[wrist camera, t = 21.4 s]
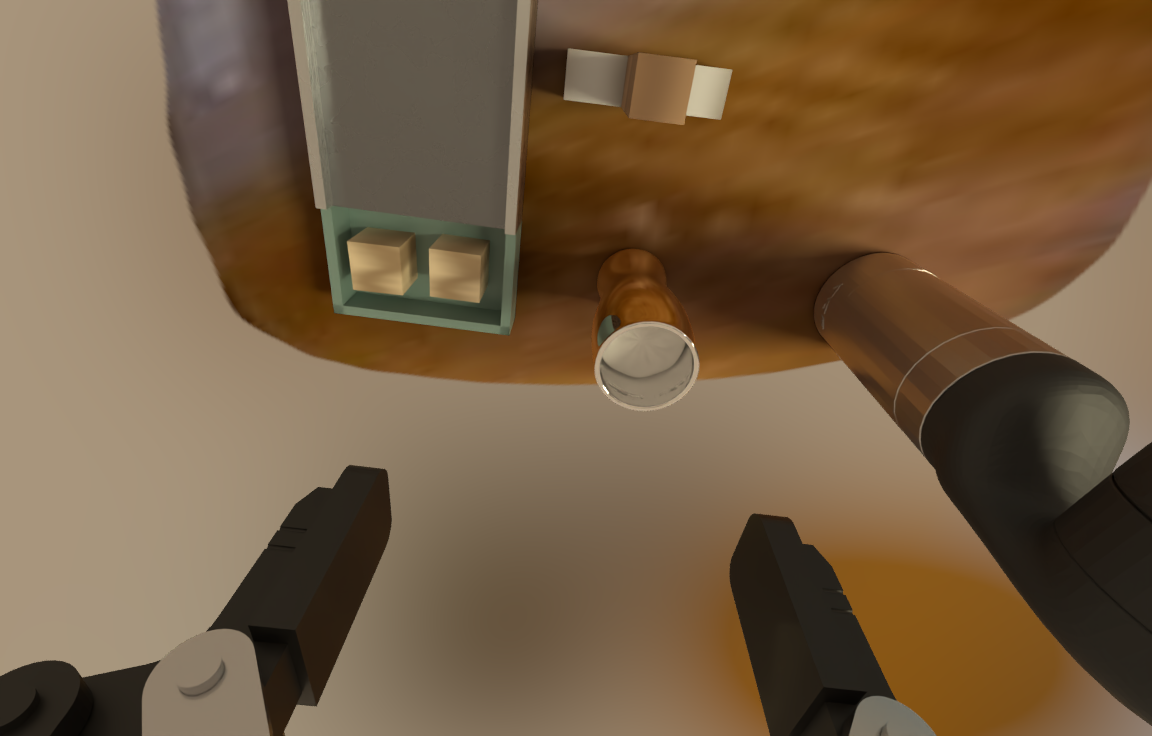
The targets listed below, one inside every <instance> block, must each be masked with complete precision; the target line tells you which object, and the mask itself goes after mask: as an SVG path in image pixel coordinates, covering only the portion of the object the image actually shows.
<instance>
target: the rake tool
mask: <svg viewBox="0 0 1152 736" xmlns="http://www.w3.org/2000/svg"><path fill="white" fill-rule="evenodd" d="M696 63H697V60H692V59H685V58H677V57H670V56H662V55H654V54H647V53H639V52H638V53H636V54H633V55H630V56H623V55H616V54H608V53H600V52H593V51H585V50H578V49H570V48H568V54H567V66H566V77H565V89H564V100H571V101H578V102H586V103H594V104H602V105H610V106H617V107H621V108H622V109H623V110H624V112H625V113H626V115H627V116H628V118H632V119H640V120H648V121H656V122H664V123H672V124H679V125H684V122H685V117H686V115H688V116H696V117H703V118H711V119H719V120H721V117H722V112H723V108H724V104H725V100H726V95H727V91H728V87H729V83H730V78H731V74H732V70H730V69H722V68H715V67H707V66H700V65H696Z"/></svg>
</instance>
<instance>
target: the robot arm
mask: <svg viewBox="0 0 1152 736" xmlns="http://www.w3.org/2000/svg"><path fill="white" fill-rule="evenodd" d="M814 320H815V325H816V327H817V329H818V331H819V333H820V334H821V336H822V337H823V338H824V339H825V340H826V342H827V343H828V344H829V345H830V346H831V347H832V349H833V350H834V351H835V352H836V353H837V355H838V356H839V357H840V358H841V360H842V361H843V362H844V363H845V364H846V365H847V367H848V368H849V369H850V370H851V371H852V373H853V374H854V375H855V376H856V377H857V378H858V380H859V381H860V382H861V383H862V384H863V386H864V387H865V388H866V389H867V390H868V391H869V393H870V394H871V395H872V396H873V397H874V398H875V400H876V401H877V402H878V403H879V404H880V405H881V407H882V408H883V409H884V410H885V411H886V413H887V414H889V416H890V417H891V418H892V420H893V421H894V422H895V423H896V424H897V426H898V427H899V428H900V429H901V430H902V431H903V432H904V433H905V434H906V435H907V437H908V438H909V439H910V440H911V442H912V443H913V444H914V445H915V446H916V448H917V449H918V450H919V451H920V452H921V453H922V454H923V456H924V457H925V458H926V459H927V460H928V462H929V463H930V464H931V465H932V466H933V467H934V469H935V470H936V474H937V477H938V480H939V482H940V484H941V486H942V488H943V490H944V491H945V493H946V494H947V496H948V497H949V498H950V500H951V501H952V502H953V504H954V505H955V506H956V507H957V509H958V510H959V511H960V513H961V514H962V515H963V516H964V518H965V519H966V520H967V522H968V523H969V524H970V526H971V527H972V529H973V530H974V531H975V533H976V534H977V535H978V537H979V538H980V539H981V541H982V542H983V543H984V545H985V546H986V548H987V549H988V550H989V552H990V553H991V555H992V556H993V557H994V559H995V560H996V562H997V563H998V564H999V566H1000V567H1001V569H1002V570H1003V571H1004V573H1005V574H1006V575H1007V577H1008V578H1009V580H1010V581H1011V582H1012V584H1013V585H1014V587H1015V588H1016V589H1017V591H1018V592H1019V593H1020V595H1021V596H1022V597H1023V599H1024V600H1025V601H1026V602H1027V604H1028V605H1029V606H1030V608H1031V609H1032V610H1033V612H1034V613H1035V614H1036V615H1037V617H1038V618H1039V619H1040V621H1041V622H1042V623H1043V624H1044V625H1045V627H1046V628H1047V629H1048V630H1049V631H1050V632H1051V634H1052V635H1053V636H1054V637H1055V638H1056V639H1057V640H1058V641H1059V643H1060V644H1061V645H1062V646H1063V647H1064V648H1065V650H1066V651H1067V652H1068V653H1069V654H1070V655H1071V656H1072V657H1073V658H1074V659H1075V660H1076V662H1077V663H1078V664H1079V665H1080V666H1081V667H1082V668H1083V669H1084V670H1085V671H1087V672H1088V673H1089V674H1090V675H1091V676H1092V677H1093V678H1094V679H1095V680H1096V681H1097V682H1098V683H1100V684H1101V685H1102V686H1103V687H1104V688H1105V689H1106V690H1107V691H1108V692H1109V693H1110V694H1111V695H1112V696H1113V697H1115V698H1116V699H1117V700H1118V701H1119V702H1121V703H1122V704H1123V705H1124V706H1125V707H1127V708H1128V709H1129V710H1131V711H1132V712H1133V713H1135V714H1136V715H1137V716H1139V717H1140V718H1142V719H1143V720H1144V721H1146V722H1147V723H1149V724H1150V725H1151V726H1152V442H1151V443H1150V444H1148V445H1147V446H1146V447H1144V448H1143V449H1142V450H1140V451H1139V452H1138V453H1136V454H1135V455H1134V456H1132V457H1131V458H1130V459H1129V460H1127V461H1126V462H1125V463H1124V464H1122V465H1121V466H1120V467H1118V468H1117V469H1116V470H1115V471H1114V472H1113V473H1112V471H1113V469H1114V467H1115V465H1116V463H1117V461H1118V459H1119V456H1120V454H1121V452H1122V450H1123V447H1124V445H1125V442H1126V439H1127V436H1128V431H1129V423H1130V421H1129V411H1128V408H1127V405H1126V402H1125V400H1124V398H1123V397H1122V395H1121V394H1120V393H1119V392H1118V390H1117V389H1116V388H1115V387H1114V386H1113V385H1112V384H1111V383H1109V382H1108V381H1107V380H1105V379H1104V378H1103V377H1101V376H1100V375H1098V374H1097V373H1095V372H1093V371H1091V370H1090V369H1088V368H1087V367H1085V366H1083V365H1082V364H1080V363H1079V362H1077V361H1075V360H1073V359H1071V358H1070V357H1068V356H1066V355H1065V354H1063V353H1061V352H1060V351H1058V350H1057V349H1055V348H1053V347H1052V346H1050V345H1048V344H1047V343H1045V342H1043V341H1042V340H1040V339H1038V338H1037V337H1035V336H1033V335H1031V334H1030V333H1028V332H1026V331H1025V330H1023V329H1022V328H1020V327H1018V326H1017V325H1015V324H1013V323H1012V322H1010V321H1008V320H1007V319H1005V318H1004V317H1002V316H1000V315H999V314H997V313H995V312H994V311H992V310H990V309H989V308H987V307H985V306H984V305H982V304H981V303H979V302H977V301H976V300H974V299H972V298H971V297H969V296H967V295H966V294H964V293H962V292H961V291H959V290H958V289H956V288H954V287H953V286H951V285H949V284H948V283H946V282H944V281H943V280H941V279H940V278H938V277H936V276H935V275H933V274H932V273H930V272H929V271H927V270H925V269H924V268H922V267H920V266H919V265H917V264H915V263H914V262H912V261H910V260H909V259H907V258H905V257H902V256H900V255H897V254H891V253H874V254H870V255H866V256H862V257H859V258H857V259H855V260H853V261H850V262H849V263H847V264H846V265H844V266H842V267H841V268H839V269H838V270H837V271H836V272H835V273H834V274H833V275H832V276H831V277H830V278H829V279H828V280H827V281H826V283H825V284H824V285H823V287H822V288H821V290H820V292H819V294H818V296H817V299H816V302H815V306H814ZM391 522H392V518H391V505H390V494H389V482H388V474H387V471H386V470H385V469H379V468H371V467H362V466H353V465H349V466H348V467H346V469H345V470H344V471H343V473H342V474H341V476H340V478H339V479H338V481H337V482H336V484H335V486H334V487H333V489H331V488H321V487H318V488H316V489H315V490H314V491H312V492H311V493H310V494H309V495H307V496H306V497H304V498H303V499H302V500H300V501H299V502H298V503H297V504H295V506H294V507H293V509H292V510H291V512H290V513H289V514H288V516H287V517H286V519H285V520H284V522H283V523H282V525H281V527H280V530H279V531H277V532H276V533H275V535H274V536H273V538H272V539H271V541H270V542H269V544H268V548H267V549H264V551H263V552H262V554H261V556H260V557H259V558H258V560H257V561H256V563H255V564H254V566H253V567H252V568H251V570H250V571H249V573H248V574H247V576H246V577H245V579H244V580H243V582H242V583H241V585H240V586H239V587H238V589H237V590H236V592H235V593H234V595H233V596H232V598H231V599H230V600H229V602H228V604H227V605H226V606H225V608H224V609H223V611H222V612H221V614H220V615H219V617H218V618H217V619H216V621H215V622H214V623H213V625H212V626H211V627H210V628H209V629H208V630H207V631H206V632H204V633H201V634H199V635H196V636H194V637H192V638H190V639H188V640H186V641H185V642H183V643H181V644H180V645H178V646H177V647H175V648H174V649H173V650H171V651H170V652H169V653H168V654H167V655H166V656H165V657H164V658H163V659H162V660H159V661H157V662H153V663H150V664H146V665H142V666H137V667H132V668H127V669H123V670H117V671H113V672H108V673H103V674H98V675H93V676H89V677H84V678H82V677H81V675H80V674H79V673H78V671H77V670H76V668H74V667H73V666H72V665H71V664H68V663H66V662H63V661H42V662H36V663H32V664H29V665H26V666H22V667H20V668H17V669H15V670H13V671H10V672H8V673H6V674H4V675H2V676H0V736H285V733H284V730H285V728H286V726H287V724H288V722H289V720H290V717H291V715H292V713H293V711H294V709H295V707H296V705H307V706H317V704H318V702H319V700H320V697H321V695H322V693H323V690H324V688H325V686H326V683H327V681H328V679H329V677H330V674H331V672H332V670H333V667H334V665H335V663H336V660H337V658H338V656H339V654H340V651H341V649H342V646H343V644H344V642H345V640H346V637H347V635H348V633H349V630H350V628H351V625H352V624H353V621H354V619H355V617H356V614H357V612H358V610H359V607H360V605H361V603H362V601H363V598H364V596H365V594H366V591H367V589H368V587H369V585H370V582H371V580H372V578H373V575H374V573H375V571H376V569H377V566H378V564H379V561H380V559H381V557H382V555H383V552H384V550H385V548H386V545H387V542H388V539H389V535H390V530H391ZM730 584H731V588H732V593H733V596H734V600H735V604H736V608H737V611H738V615H739V619H740V623H741V627H742V630H743V634H744V638H745V641H746V645H747V649H748V653H749V656H750V660H751V664H752V668H753V672H754V676H755V679H756V683H757V687H758V691H759V695H760V699H761V702H762V706H763V709H764V713H765V717H766V721H767V725H768V729H769V733H770V736H936V735H935V733H934V732H933V731H932V729H931V728H930V727H929V726H928V725H927V724H926V722H925V721H924V720H923V719H922V718H920V717H919V716H918V715H917V714H916V713H915V712H913V711H912V710H911V709H910V708H908V707H907V706H904V705H903V704H901V703H900V702H898V701H897V700H896V699H895V697H894V695H893V693H892V691H891V689H890V687H889V685H888V683H887V681H886V679H885V677H884V675H883V673H882V671H881V668H880V667H879V664H878V662H877V660H876V658H875V656H874V654H873V652H872V650H871V648H870V645H869V643H868V641H867V639H866V637H865V635H864V633H863V631H862V629H861V627H860V625H859V622H858V620H857V618H856V616H855V615H853V614H852V608H851V606H850V604H849V601H848V600H847V597H846V595H843V589H842V587H841V585H840V583H839V581H838V578H837V576H836V574H835V572H834V570H833V568H832V566H831V565H830V564H829V563H828V562H827V561H826V559H825V558H824V557H823V556H822V555H821V554H820V553H819V552H818V550H817V549H816V548H815V547H814V546H813V545H808V544H802V541H801V539H800V537H799V535H798V532H797V530H796V528H795V526H794V524H793V522H792V520H791V519H789V518H788V517H779V516H771V515H763V514H752V515H751V516H750V518H749V519H748V522H747V524H746V526H745V529H744V531H743V533H742V535H741V538H740V540H739V542H738V545H737V547H736V549H735V551H734V553H733V556H732V559H731V563H730Z"/></svg>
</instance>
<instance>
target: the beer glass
mask: <svg viewBox="0 0 1152 736" xmlns="http://www.w3.org/2000/svg"><path fill="white" fill-rule="evenodd" d="M666 282H667V279H666V273H665V270H664V267H663V265H662V264H661V262H660V261H659V260H658V258H656V257H655V256H654V255H653V254H651V253H649V252H647V251H645V250H641V249H625V250H621V251H619V252H617V253H615V254H613V255H612V256H610V257H609V258H608V259H607V260H606V261H605V262H604V264H603V265H602V267H601V268H600V271H599V274H598V278H597V289H598V293H599V296H600V298H601V300H600V302H599V305H598V307H597V309H596V313H595V316H594V320H593V324H592V336H591V342H592V355H593V361H594V370H595V377H596V381H597V383H598V386H599V387H600V389H601V391H602V392H603V393H604V394H605V396H606V397H607V398H609V399H610V400H611V401H612V402H614V403H615V404H617V405H619V406H622V407H624V408H627V409H630V410H636V411H653V410H658V409H662V408H665V407H668V406H670V405H672V404H674V403H676V402H677V401H679V400H680V399H681V398H683V397H684V396H685V395H686V394H687V393H688V392H689V390H690V389H691V388H692V386H693V385H694V383H695V381H696V379H697V376H698V372H699V356H698V352H697V349H696V343H695V338H694V334H693V330H692V327H691V323H690V321H689V318H688V316H687V314H686V312H685V309H684V307H683V306H682V304H681V303H680V302H679V300H678V299H677V297H676V296H675V295H674V294H673V293H672V292H671V291H670V290H669V288H668V287H667V286H666Z"/></svg>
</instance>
